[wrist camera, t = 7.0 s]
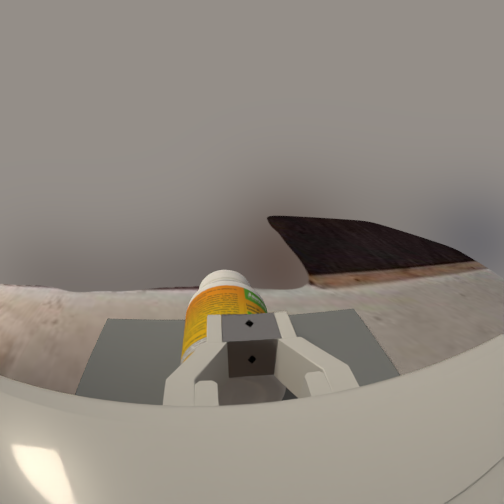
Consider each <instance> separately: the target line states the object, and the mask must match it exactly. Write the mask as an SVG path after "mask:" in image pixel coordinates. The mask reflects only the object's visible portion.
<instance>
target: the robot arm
mask: <svg viewBox="0 0 504 504" xmlns="http://www.w3.org/2000/svg"><path fill="white" fill-rule="evenodd" d="M221 323H222V324H221ZM260 375H274V376H275V377H276V378H277V379H278V380H279V381H280V382H281V383H282V384H283V385H284V386H286V387H287V388H288V389H289V390H290V391H291V392H292V393H293V394H294V395H295V396H296V397H297V398H298V399H291V400H283V401H274V402H265V403H254V404H241V405H222V406H219V396H218V395H219V394H220V392H221V390H222V389H223V387H224V386H225V384H226V383H227V381H228V380H229V378H234V377H246V376H260ZM0 504H504V334H501V335H499V336H497V337H495V338H493V339H491V340H489V341H487V342H485V343H483V344H481V345H479V346H477V347H474V348H472V349H470V350H468V351H465V352H463V353H461V354H459V355H456V356H454V357H451V358H449V359H446V360H444V361H441V362H438V363H436V364H433V365H430V366H428V367H425V368H422V369H419V370H416V371H413V372H410V373H407V374H404V375H401V376H397V377H394V378H391V379H387V380H384V381H380V382H376V383H373V384H369V385H365V386H361V387H359V385H358V383H357V381H356V379H355V377H354V375H353V373H352V371H351V370H350V368H349V366H348V365H347V364H345V363H344V362H342V361H340V360H338V359H337V358H335V357H333V356H332V355H330V354H328V353H327V352H325V351H323V350H322V349H320V348H318V347H317V346H315V345H313V344H312V343H310V342H309V341H307V340H305V339H304V338H302V337H297V335H296V333H295V330H294V328H293V325H292V323H291V321H290V318H289V316H288V313H287V312H286V311H280V312H273V313H259V314H222V315H208V316H207V343H202V344H201V345H200V346H199V347H198V348H197V349H196V350H195V351H194V352H193V353H192V354H191V355H190V356H189V357H188V358H187V359H186V360H185V361H184V362H183V363H182V364H181V365H180V366H179V367H178V368H177V369H176V370H175V371H174V372H173V373H172V374H171V375H170V376H169V377H168V378H167V379H166V383H165V390H164V398H163V405H149V404H136V403H126V402H117V401H109V400H101V399H95V398H88V397H83V396H77V395H72V394H67V393H62V392H57V391H53V390H49V389H45V388H41V387H37V386H33V385H29V384H26V383H22V382H19V381H16V380H13V379H9V378H6V377H3V376H1V375H0Z"/></svg>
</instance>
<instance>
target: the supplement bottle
mask: <svg viewBox="0 0 504 504" xmlns="http://www.w3.org/2000/svg"><path fill="white" fill-rule="evenodd" d="M259 313H267V309H266V306H265V304H264V301H263V299H262V298H261V297H260V295H259V294H258V293H257V292H256V291H255V290H254V289H252V288H251V286H250V284H249V282H248V281H247V279H246V278H245V277H244V276H242V275H241V274H239V273H237V272H235V271H231V270H219V271H216V272H213V273H211V274H209V275H208V276H207V277H206V278H205V279H204V280H203V281H202V283H201V285H200V287H199V291H197V292H196V293H195V294H194V296H193V297H192V299H191V300H190V302H189V305H188V308H187V313H186V319H185V328H184V337H183V346H182V355H181V364H182V363H183V362H184V361H185V360H186V359H187V358H188V357H189V356H190V355H191V354H192V353H193V352H194V351H195V350H196V349H197V348H198V347H199V346H200V345H201V344H202V343H207V316H208V315H222V314H259ZM221 324H222V323H221ZM181 364H180V365H181ZM285 390H286V386H284V385H283V384H282V383H281V382H280V381H279V380H278V379H277V378H276V377H275V376H274V375H260V376H246V377H234V378H229V380H228V381H227V383H226V384H225V386H224V387H223V389H222V390H221V392H220V394H219V395H218V396H219V406H222V405H241V404H254V403H265V402H274V401H281V400H282V398H283V397H284V394H285Z"/></svg>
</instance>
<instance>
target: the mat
mask: <svg viewBox="0 0 504 504" xmlns="http://www.w3.org/2000/svg"><path fill="white" fill-rule="evenodd" d="M288 316H289V318H290V321H291V323H292V325H293V328H294V330H295V333H296V335H297V337H302V338H304V339H305V340H307V341H309V342H310V343H312V344H313V345H315V346H317V347H318V348H320V349H322V350H323V351H325V352H327V353H328V354H330V355H332V356H333V357H335V358H337V359H338V360H340V361H342V362H344V363H345V364H347V365H348V366H349V368H350V370H351V371H352V373H353V375H354V377H355V379H356V381H357V383H358V385H359V387H361V386H365V385H369V384H373V383H376V382H380V381H384V380H387V379H391V378H394V377H397V376H400V374H399V373H398V371H397V370H396V368H395V367H394V366H393V364H392V363H391V361H390V360H389V358H388V357H387V355H386V354H385V352H384V351H383V349H382V348H381V347H380V345H379V344H378V342H377V341H376V339H375V338H374V337H373V335H372V334H371V332H370V331H369V330H368V328H367V327H366V325H365V324H364V323H363V321H362V320H361V318H360V317H359V316H358V314H357V313H356V311H355V310H354V309H347V310H338V311H328V312H318V313H308V314H296V315H288ZM184 328H185V320H137V319H107V321H106V323H105V325H104V327H103V330H102V332H101V334H100V336H99V338H98V340H97V343H96V345H95V347H94V349H93V352H92V354H91V356H90V359H89V361H88V363H87V366H86V368H85V370H84V373H83V375H82V378H81V380H80V383H79V385H78V388H77V391H76V393H75V395H77V396H83V397H88V398H95V399H101V400H109V401H117V402H126V403H136V404H149V405H163V398H164V390H165V383H166V379H167V378H168V377H169V376H170V375H171V374H172V373H173V372H174V371H175V370H176V369H177V368H178V367H179V366H180V364H181V355H182V346H183V337H184ZM291 399H298V398H297V397H296V396H295V395H294V394H293V393H292V392H291V391H290V390H289V389H288V388H287V387H286V390H285V394H284V397H283V398H282V400H281V401H283V400H291Z"/></svg>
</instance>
